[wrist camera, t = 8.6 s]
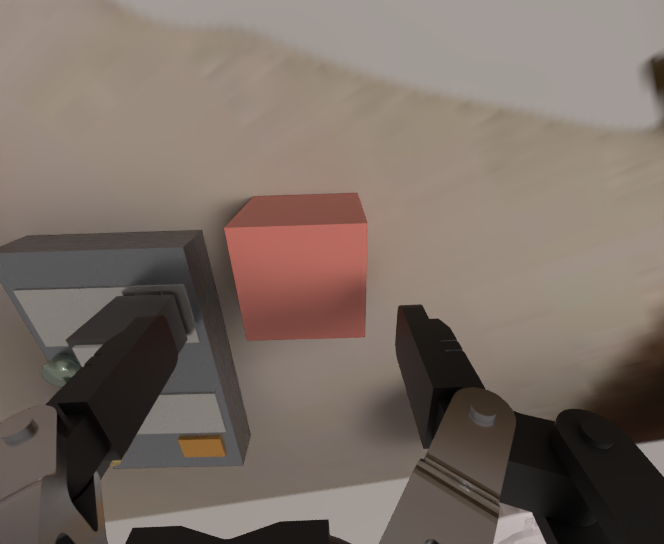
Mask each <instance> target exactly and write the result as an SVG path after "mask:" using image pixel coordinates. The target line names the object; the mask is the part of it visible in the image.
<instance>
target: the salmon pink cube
mask: <svg viewBox="0 0 664 544" xmlns="http://www.w3.org/2000/svg"><path fill="white" fill-rule="evenodd" d="M367 224H368V223H367V220H366V217H365V214H364V211H363V208H362V205H361V202H360V199H359V196H358V193H341V194H312V195H282V196H253V197H252V198H251V199H250V201H249V202H248V203H247V204H246V205H245V206H244V207H243V208H242V209H241V210H240V211H239V212H238V213H237V214H236V216H235V217H234V218H233V219H232V220H231V221H230V222H229V223H228V224H227V225H226V226H225V227H224V230H225V235H226V240H227V245H228V250H229V255H230V260H231V265H232V270H233V275H234V280H235V285H236V289H237V294H238V299H239V304H240V309H241V314H242V319H243V324H244V329H245V334H246V339H247V341H249V340H285V339H321V338H357V337H365V319H366V271H367Z"/></svg>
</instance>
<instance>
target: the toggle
mask: <svg viewBox="0 0 664 544" xmlns="http://www.w3.org/2000/svg"><path fill="white" fill-rule="evenodd" d="M150 315H163V316H165V318H166V319H167V321H168V324H169V327H170V330H171V333H172V336H173V339H174V341H175V344H176V347H177V350H178V354H179V353H180V351H181V350H182V348H183V346H184V345H185V343H186V342H187V340H188V339H187V335H186V332H185V329H184V326H183V323H182V320H181V316H180V313H179V310H178V307H177V304H176V300H175V297H174V294H170V295H136V296H116V297H115V298H114V299H113V300H112V301H110V302H109V303H108V304H107V305H106V306H105V307H103V308H102V309H101V310H100V311H99V312H97V313H96V314H95V315H94V316H93V317H92V318H90V319H89V320H88V321H87V322H86V323H85V324H83V325H82V326H81V327H80V328H79V329H78V330H76V331H75V332H74V333H73V334H72V335H71V336H69V337H68V338H67V339H66V342H67V344H68V345H69V347H70V349H71V351H72V353H73V355H74V356H75V358H76V360H77V362H78V364H79V365H80V367H84V364H85V363H86V362H87V361H88V360H89V359H90V358H91V357H92V356H94V353H95V352H96V351H97V350H98V349H99V348H100V347H101V346H102V345H103V344H104V343H105V342H106V341H108V340H109V339H111V338H112V337H114V336H115V335H117V334H118V333H120V332H121V331H124V330H125V329H126V328H127V326H128V325H129V324H130V323H131V322H132V321H133V320H134V319H135V318H136V317H138V316H150Z"/></svg>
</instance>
